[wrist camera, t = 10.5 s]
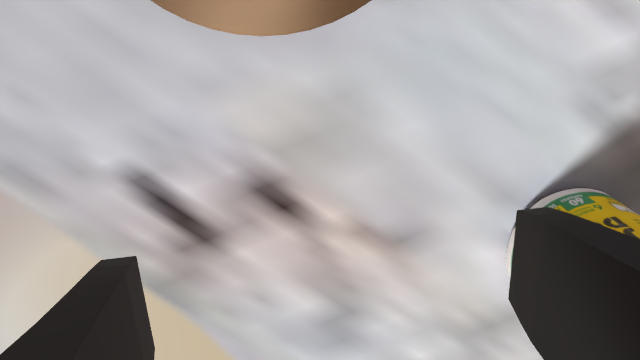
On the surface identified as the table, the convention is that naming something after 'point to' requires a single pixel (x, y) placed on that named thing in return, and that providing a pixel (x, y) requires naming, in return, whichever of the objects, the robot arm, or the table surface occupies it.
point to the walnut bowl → (261, 14)
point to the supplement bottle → (588, 212)
